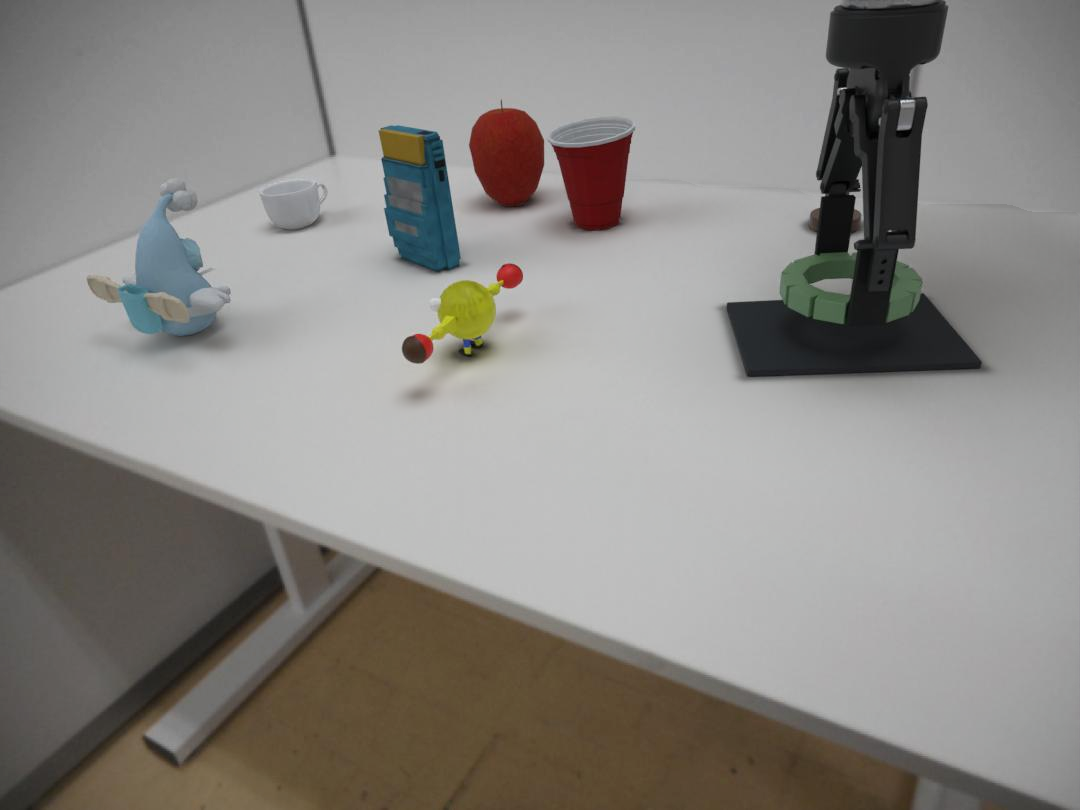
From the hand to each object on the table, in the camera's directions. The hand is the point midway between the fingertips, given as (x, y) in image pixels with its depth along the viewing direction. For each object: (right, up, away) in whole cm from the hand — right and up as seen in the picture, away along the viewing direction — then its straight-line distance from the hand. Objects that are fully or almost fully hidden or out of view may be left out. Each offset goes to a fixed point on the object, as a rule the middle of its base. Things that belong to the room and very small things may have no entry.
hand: (845, 293), depth 63 cm
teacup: (-60, +17, +44) cm, 76 cm away
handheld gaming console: (-39, +8, +26) cm, 48 cm away
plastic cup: (-19, +14, +32) cm, 40 cm away
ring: (0, 0, 0) cm, 0 cm away
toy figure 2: (-32, -4, +6) cm, 33 cm away
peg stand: (+9, +12, +24) cm, 28 cm away
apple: (-30, +19, +43) cm, 56 cm away
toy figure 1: (-63, -2, +15) cm, 64 cm away
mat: (0, -3, +2) cm, 4 cm away
